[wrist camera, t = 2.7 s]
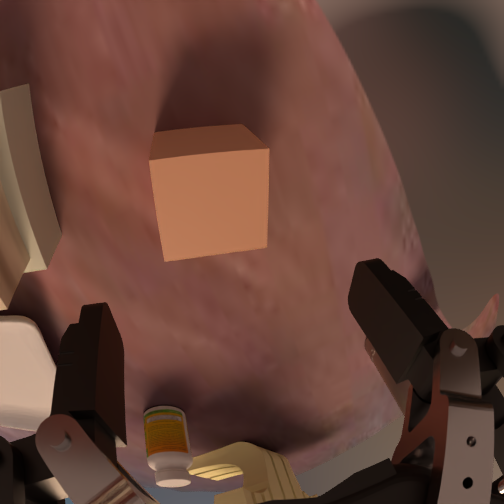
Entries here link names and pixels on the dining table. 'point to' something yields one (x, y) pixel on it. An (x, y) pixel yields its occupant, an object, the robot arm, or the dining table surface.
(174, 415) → the supplement bottle
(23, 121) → the base block
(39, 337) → the salad plate
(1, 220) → the top block
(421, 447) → the robot arm
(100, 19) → the dining table surface
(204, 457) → the slatted curved stool
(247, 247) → the cube
